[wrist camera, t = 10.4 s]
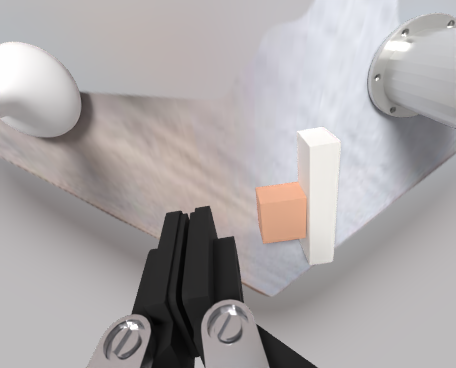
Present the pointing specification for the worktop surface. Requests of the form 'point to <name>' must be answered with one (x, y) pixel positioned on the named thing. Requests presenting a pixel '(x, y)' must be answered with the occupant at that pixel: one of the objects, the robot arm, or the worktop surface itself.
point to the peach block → (281, 212)
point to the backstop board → (319, 191)
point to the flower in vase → (36, 91)
